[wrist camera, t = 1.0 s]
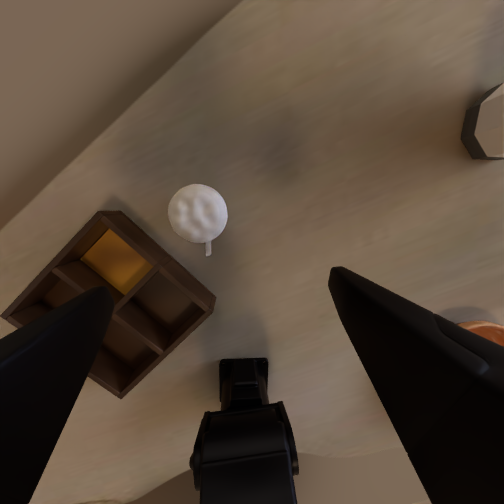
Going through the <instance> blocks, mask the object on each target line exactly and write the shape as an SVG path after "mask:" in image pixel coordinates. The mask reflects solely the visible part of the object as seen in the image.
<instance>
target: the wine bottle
mask: <svg viewBox="0 0 504 504" xmlns="http://www.w3.org/2000/svg"><path fill="white" fill-rule="evenodd" d="M461 140H462V142H463V143H464V145H465V147H466V148H467V150H468V151H469V153H470V155H471V156H472V158H473V159H486V160H501V159H504V83H502V84H500V85H498V86H496V87H494V88H492V89H491V90H489V91H488V92H486V93H485V94H484V95H483V96H482V97H481V98H480V99H479V100H478V101H477V102H476V103H474V104H473V105H472V106H471V107H470V108H469V109H468V110H467V111H466V116H465V121H464V126H463V131H462V136H461Z"/></svg>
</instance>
